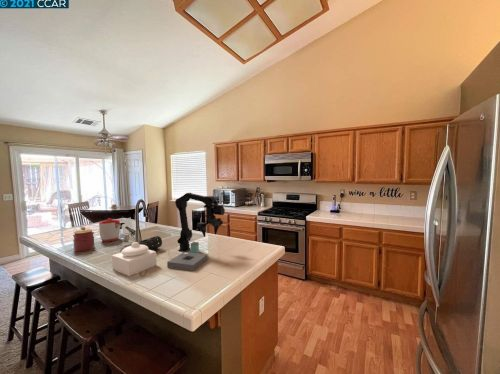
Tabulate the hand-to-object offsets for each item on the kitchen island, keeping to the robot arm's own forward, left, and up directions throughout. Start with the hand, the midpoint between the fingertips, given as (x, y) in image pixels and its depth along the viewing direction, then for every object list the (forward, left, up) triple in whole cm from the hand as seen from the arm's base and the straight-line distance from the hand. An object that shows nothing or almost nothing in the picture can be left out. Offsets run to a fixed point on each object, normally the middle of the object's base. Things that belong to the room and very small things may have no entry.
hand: (210, 235), depth 156 cm
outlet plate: (-6, -19, -13) cm, 24 cm away
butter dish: (-34, -34, -14) cm, 50 cm away
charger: (-11, -3, -13) cm, 17 cm away
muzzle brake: (-47, -14, -14) cm, 51 cm away
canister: (-100, -17, -13) cm, 102 cm away
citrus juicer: (-101, +7, -13) cm, 102 cm away
